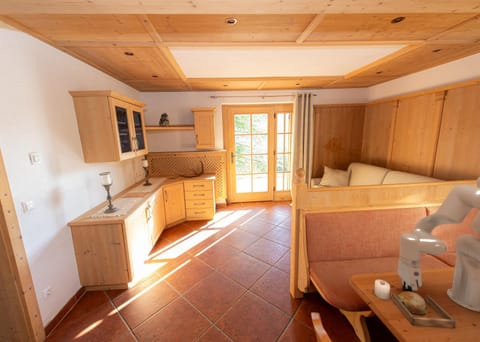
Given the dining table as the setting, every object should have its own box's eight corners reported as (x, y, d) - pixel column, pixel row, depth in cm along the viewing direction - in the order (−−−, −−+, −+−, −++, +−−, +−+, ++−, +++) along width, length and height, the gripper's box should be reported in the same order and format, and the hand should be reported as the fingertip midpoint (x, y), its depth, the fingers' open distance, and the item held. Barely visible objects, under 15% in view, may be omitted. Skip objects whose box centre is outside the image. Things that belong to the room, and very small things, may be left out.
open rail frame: (427, 300, 92) (427, 294, 92) (455, 327, 79) (456, 321, 78) (391, 298, 94) (391, 292, 94) (412, 325, 81) (413, 318, 80)
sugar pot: (384, 290, 99) (385, 277, 98) (392, 299, 93) (393, 285, 92) (371, 289, 100) (372, 276, 99) (378, 299, 94) (379, 285, 93)
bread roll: (421, 324, 84) (434, 314, 81) (394, 305, 89) (405, 295, 86) (418, 308, 92) (430, 298, 89) (394, 292, 97) (404, 281, 94)
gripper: (431, 270, 85) (427, 307, 87) (407, 251, 99) (405, 283, 102) (411, 269, 86) (409, 306, 89) (391, 250, 101) (389, 282, 103)
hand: (407, 293), depth 95 cm, fingers closed
